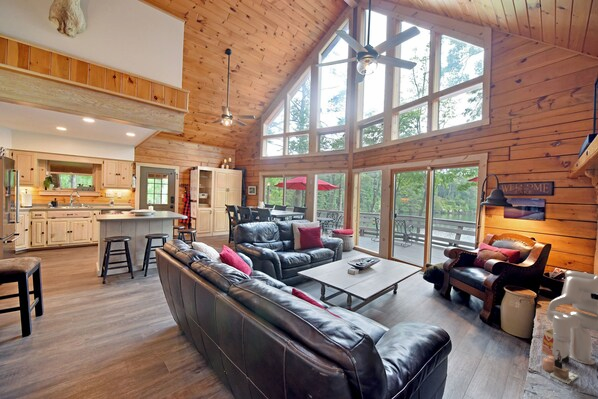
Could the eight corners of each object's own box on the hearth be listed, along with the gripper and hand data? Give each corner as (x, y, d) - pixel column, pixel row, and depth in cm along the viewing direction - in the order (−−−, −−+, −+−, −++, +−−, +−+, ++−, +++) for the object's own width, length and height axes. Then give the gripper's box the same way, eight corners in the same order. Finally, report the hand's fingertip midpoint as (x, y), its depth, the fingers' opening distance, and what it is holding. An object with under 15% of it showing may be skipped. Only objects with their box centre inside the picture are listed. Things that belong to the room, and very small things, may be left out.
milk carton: (552, 351, 179) (552, 323, 179) (566, 359, 170) (566, 330, 170) (539, 351, 179) (540, 323, 179) (553, 359, 170) (553, 330, 170)
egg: (544, 366, 162) (544, 357, 162) (555, 371, 158) (555, 361, 158) (541, 368, 160) (541, 359, 160) (551, 373, 156) (551, 363, 156)
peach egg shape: (549, 363, 165) (549, 354, 165) (559, 368, 161) (559, 358, 161) (545, 365, 163) (545, 356, 163) (556, 370, 159) (556, 360, 159)
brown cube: (568, 377, 150) (568, 369, 150) (565, 380, 148) (565, 371, 148) (557, 372, 155) (557, 364, 155) (553, 374, 153) (553, 366, 153)
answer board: (559, 369, 160) (559, 367, 160) (577, 377, 153) (577, 375, 153) (549, 375, 154) (549, 373, 154) (568, 384, 146) (568, 382, 146)
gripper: (559, 330, 159) (559, 357, 159) (546, 337, 151) (547, 365, 152) (576, 336, 152) (576, 364, 152) (564, 344, 145) (564, 373, 145)
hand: (561, 364), depth 152 cm, fingers open, 9 cm apart
